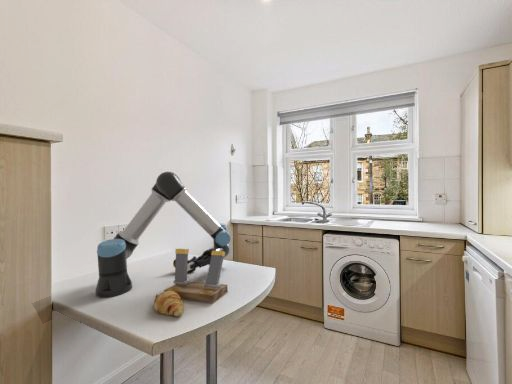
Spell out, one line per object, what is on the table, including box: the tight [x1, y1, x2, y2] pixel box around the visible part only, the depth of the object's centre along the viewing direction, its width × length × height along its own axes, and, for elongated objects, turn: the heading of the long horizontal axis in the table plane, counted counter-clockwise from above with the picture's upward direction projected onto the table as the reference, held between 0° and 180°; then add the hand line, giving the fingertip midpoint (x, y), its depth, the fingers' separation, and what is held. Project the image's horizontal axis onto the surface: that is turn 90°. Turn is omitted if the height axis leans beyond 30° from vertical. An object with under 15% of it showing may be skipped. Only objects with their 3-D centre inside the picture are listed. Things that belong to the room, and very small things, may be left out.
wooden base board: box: [163, 280, 228, 304], centre depth 113 cm, size 12×24×3 cm, turn 68°
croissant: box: [153, 290, 185, 317], centre depth 100 cm, size 21×10×8 cm, turn 43°
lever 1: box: [173, 248, 190, 285], centre depth 117 cm, size 2×6×15 cm, turn 67°
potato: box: [172, 258, 197, 274], centre depth 146 cm, size 8×13×8 cm, turn 52°
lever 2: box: [204, 251, 225, 288], centre depth 113 cm, size 2×6×15 cm, turn 66°
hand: (184, 269), depth 118 cm, fingers closed
